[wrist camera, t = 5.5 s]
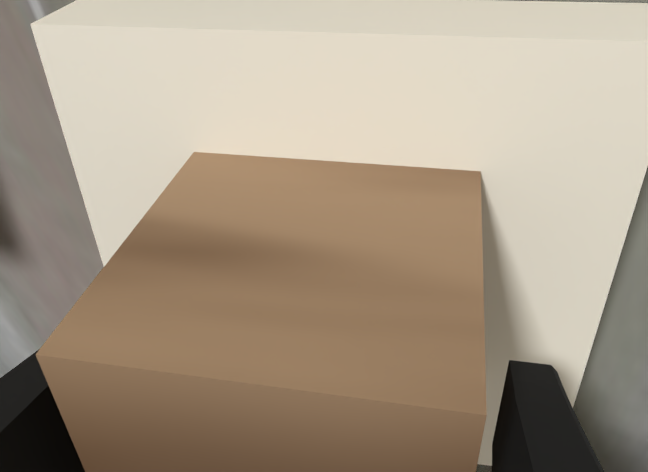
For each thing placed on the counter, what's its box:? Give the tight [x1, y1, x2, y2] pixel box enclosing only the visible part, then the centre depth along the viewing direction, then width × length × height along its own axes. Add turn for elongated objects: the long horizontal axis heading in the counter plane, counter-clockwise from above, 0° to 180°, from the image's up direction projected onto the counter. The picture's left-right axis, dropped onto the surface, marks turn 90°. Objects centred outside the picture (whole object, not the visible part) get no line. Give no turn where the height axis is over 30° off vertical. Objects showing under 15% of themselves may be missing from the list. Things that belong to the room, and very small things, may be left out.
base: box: [31, 0, 648, 466], centre depth 13 cm, size 10×10×2 cm
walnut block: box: [36, 152, 487, 472], centre depth 10 cm, size 5×5×5 cm
